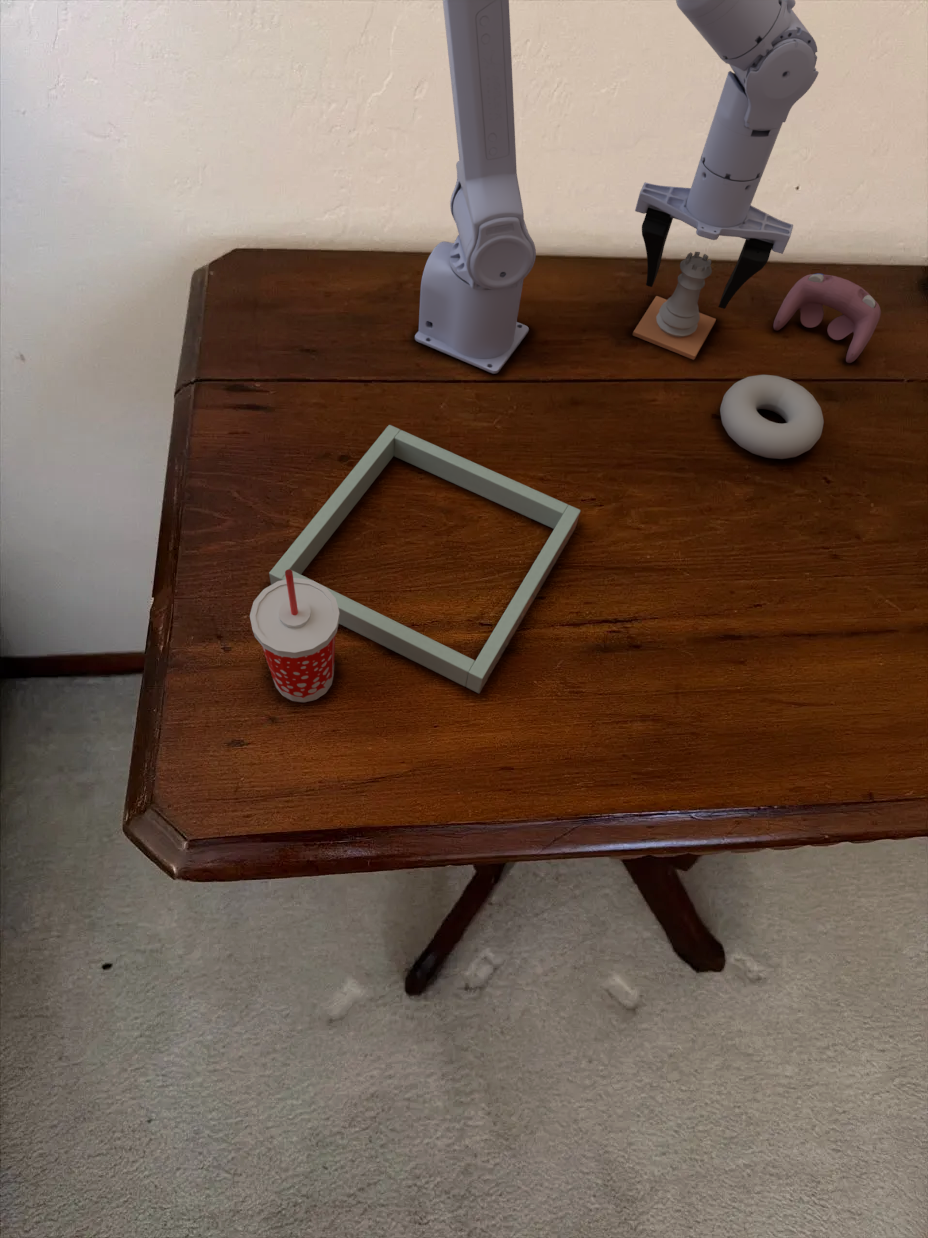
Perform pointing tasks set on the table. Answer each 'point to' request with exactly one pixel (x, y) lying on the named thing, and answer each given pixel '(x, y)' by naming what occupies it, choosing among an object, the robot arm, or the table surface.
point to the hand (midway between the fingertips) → (687, 291)
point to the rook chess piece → (685, 297)
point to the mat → (679, 345)
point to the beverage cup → (297, 635)
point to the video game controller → (840, 296)
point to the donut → (763, 433)
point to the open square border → (464, 476)
